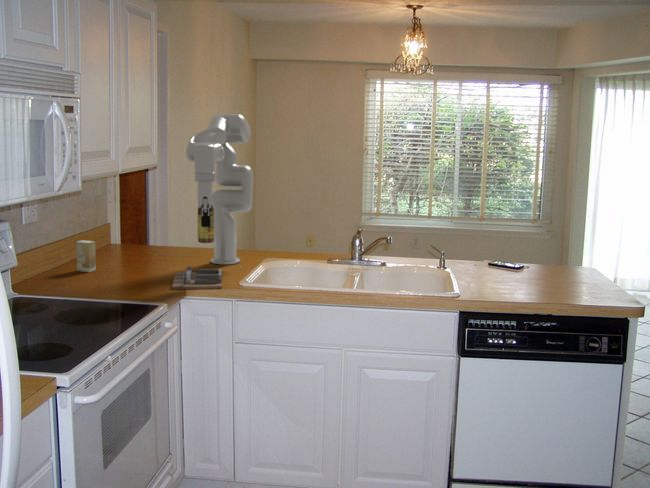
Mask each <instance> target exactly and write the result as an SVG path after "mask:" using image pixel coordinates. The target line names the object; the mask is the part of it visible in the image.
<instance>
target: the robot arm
mask: <svg viewBox="0 0 650 488" xmlns="http://www.w3.org/2000/svg"><path fill="white" fill-rule="evenodd" d="M251 136H252V132H251V127H250V124H249V123H248V121H247V119H246V118H245V116H244V115H242V114H239V113H218V114H215V115H214V116H213V117H212V118H211V119H210V121H209V124H208V126H207V128H206V129H204V130H202V131H200V132H197V133H196V134H193V135H192V136H191V138H190V139H189V141H188V143H187V145H186V150H185V156H186V158H187V160H188V161H189V162H191V163H194V183H197V209H198V208H199V207H201V206H202V216H201V226H202V227H210V216H209V209H210V208H211V204H212V206H213V209H214V242H213V243H214V244H213V247H214V248H213V250H214V251H213V252H214V253H213V256H214V257H212V258H210V263H212V264H213V265H214V264H215V265H222V266H223V265H235V264H238V263H240V262H241V258H240V257H238V256H237V222H236V219H235V217H234V216H233V214H232V213H248V212H250V211H251V210H252V208H253V200H254V199H253V193H254V190H253V189H254V172H253V169H252V167H250V166H248V165H243V164H239V165H238V164H237V161H238V159H237V157H238V156H237V152H236V151H235V149H234V148H233V147H232V146H231V145H230V144H247V143H248V142H249V141H250V140H251ZM214 182H216V184H217V185H218V186H219V187H222V188H223V187H224V188H241V189H218V190H215V191H213V183H214ZM203 197H204V201H203ZM203 207H204V208H203ZM207 207H208V208H207ZM199 209H200V208H199Z"/></svg>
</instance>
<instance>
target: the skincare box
mask: <svg viewBox="0 0 650 488" xmlns="http://www.w3.org/2000/svg"><path fill="white" fill-rule="evenodd" d="M75 244H76V247H75V248H76V271H77V272H83V273H85V272H86V273H91V272H95V271H97V269H96V268H97V267H96V265H97V263H96V262H97V260H96V258H97V257H96V241H92V240H85V239H82V240H78V241H76V242H75Z"/></svg>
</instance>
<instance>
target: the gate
mask: <svg viewBox="0 0 650 488" xmlns="http://www.w3.org/2000/svg"><path fill="white" fill-rule="evenodd" d="M186 268H187V269H186V272H187V273H186V282H187V283H191V277H192V275H191V272H192V266H190V265H189V266H186Z"/></svg>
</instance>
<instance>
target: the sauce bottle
mask: <svg viewBox="0 0 650 488" xmlns="http://www.w3.org/2000/svg"><path fill="white" fill-rule="evenodd" d="M203 201H204V197H203ZM199 208H200V209H199ZM199 208H198V207H197V238H198V239H197V240H198V241H197V242H198V243H201V244H209V243H210V244H211V243H214V209H213V206H212V204H211V208H210V209H209V216H210V227H202V226H201V216H202V206H201V207H199ZM203 208H204V207H203ZM207 208H208V207H207Z"/></svg>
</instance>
